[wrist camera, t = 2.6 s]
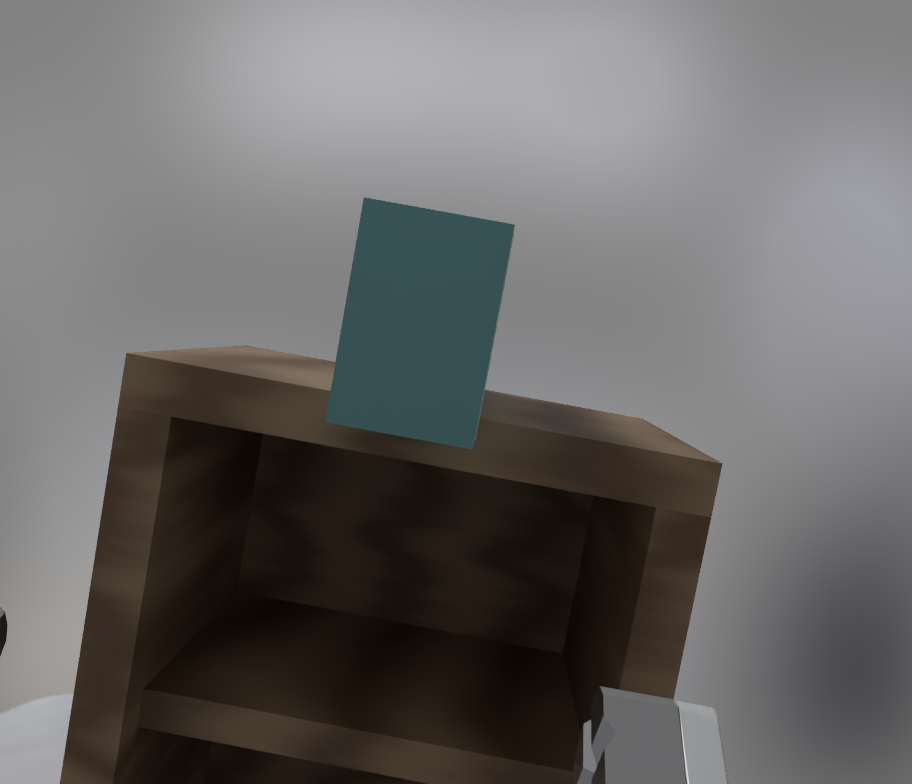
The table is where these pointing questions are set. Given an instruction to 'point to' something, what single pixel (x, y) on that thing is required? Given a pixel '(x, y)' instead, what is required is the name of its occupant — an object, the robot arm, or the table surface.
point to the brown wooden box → (371, 583)
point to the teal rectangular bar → (419, 323)
